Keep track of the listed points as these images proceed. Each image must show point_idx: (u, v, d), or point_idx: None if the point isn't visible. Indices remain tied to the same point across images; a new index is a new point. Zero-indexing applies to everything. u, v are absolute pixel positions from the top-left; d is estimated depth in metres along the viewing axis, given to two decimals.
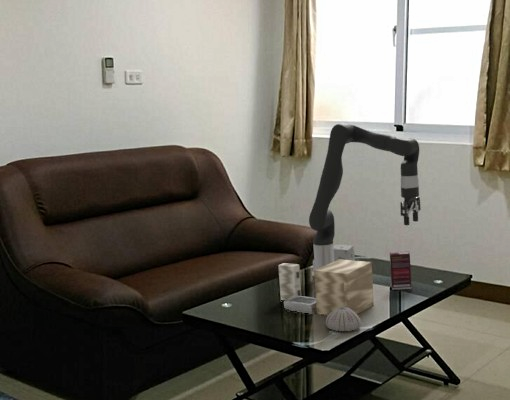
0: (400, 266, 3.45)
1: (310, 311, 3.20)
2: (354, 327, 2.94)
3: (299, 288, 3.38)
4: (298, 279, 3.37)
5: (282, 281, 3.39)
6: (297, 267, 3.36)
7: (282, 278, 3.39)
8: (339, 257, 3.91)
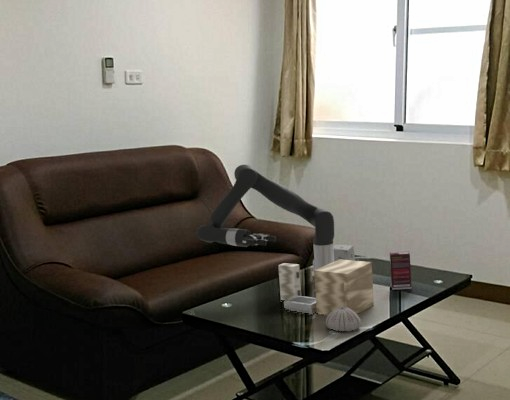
0: (400, 266, 3.45)
1: (310, 311, 3.20)
2: (354, 327, 2.94)
3: (299, 288, 3.38)
4: (298, 279, 3.37)
5: (282, 281, 3.39)
6: (297, 267, 3.36)
7: (282, 278, 3.39)
8: (339, 257, 3.91)
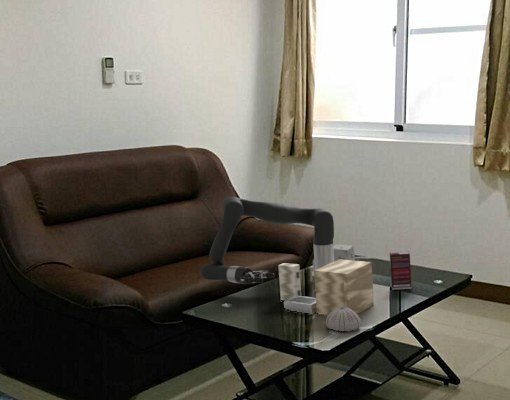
0: (400, 266, 3.45)
1: (310, 311, 3.20)
2: (354, 327, 2.94)
3: (299, 288, 3.38)
4: (298, 279, 3.37)
5: (282, 281, 3.39)
6: (297, 267, 3.36)
7: (282, 278, 3.39)
8: (339, 257, 3.91)
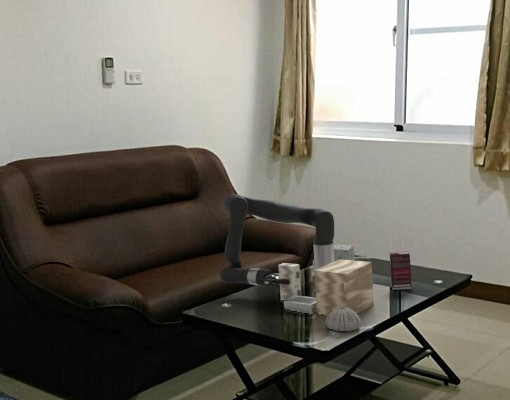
0: (400, 266, 3.45)
1: (310, 311, 3.20)
2: (354, 327, 2.94)
3: (299, 288, 3.38)
4: (298, 279, 3.37)
5: None
6: (297, 267, 3.36)
7: (282, 278, 3.39)
8: (339, 257, 3.91)
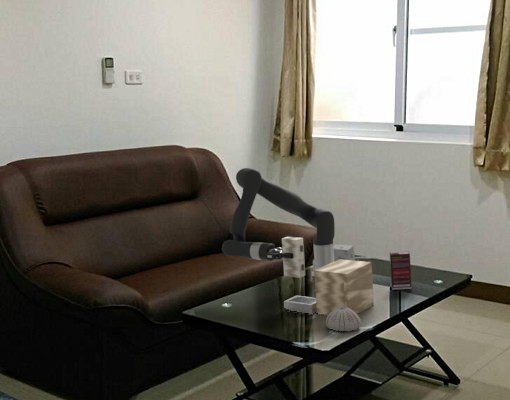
0: (400, 266, 3.45)
1: (310, 311, 3.20)
2: (354, 327, 2.94)
3: (303, 262, 3.29)
4: (302, 253, 3.28)
5: None
6: (301, 240, 3.27)
7: (285, 251, 3.30)
8: (339, 257, 3.91)
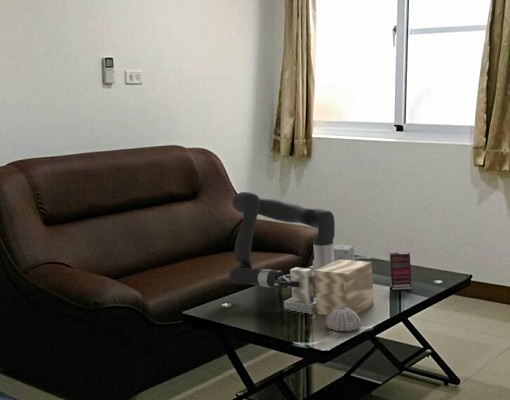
0: (400, 266, 3.45)
1: (310, 311, 3.20)
2: (354, 327, 2.94)
3: (312, 293, 3.25)
4: (311, 284, 3.24)
5: None
6: (310, 272, 3.23)
7: None
8: (339, 257, 3.91)
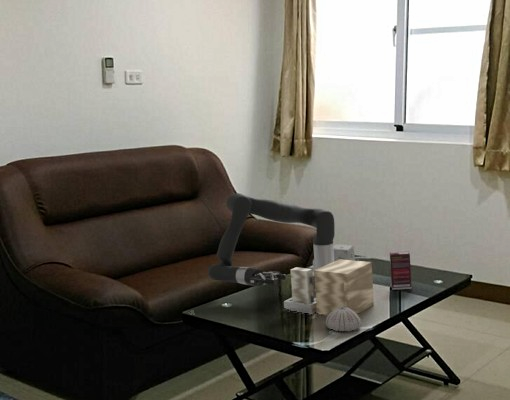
0: (400, 266, 3.45)
1: (310, 311, 3.20)
2: (354, 327, 2.94)
3: (312, 293, 3.25)
4: (311, 284, 3.24)
5: (294, 286, 3.26)
6: (310, 272, 3.23)
7: (294, 283, 3.25)
8: (339, 257, 3.91)
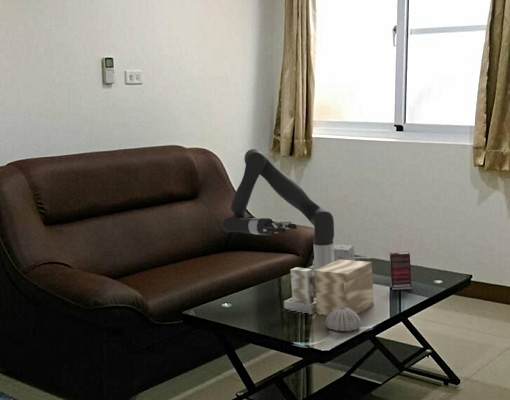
0: (400, 266, 3.45)
1: (310, 311, 3.20)
2: (354, 327, 2.94)
3: (312, 293, 3.25)
4: (311, 284, 3.24)
5: (294, 286, 3.26)
6: (310, 272, 3.23)
7: (294, 283, 3.25)
8: (339, 257, 3.91)
